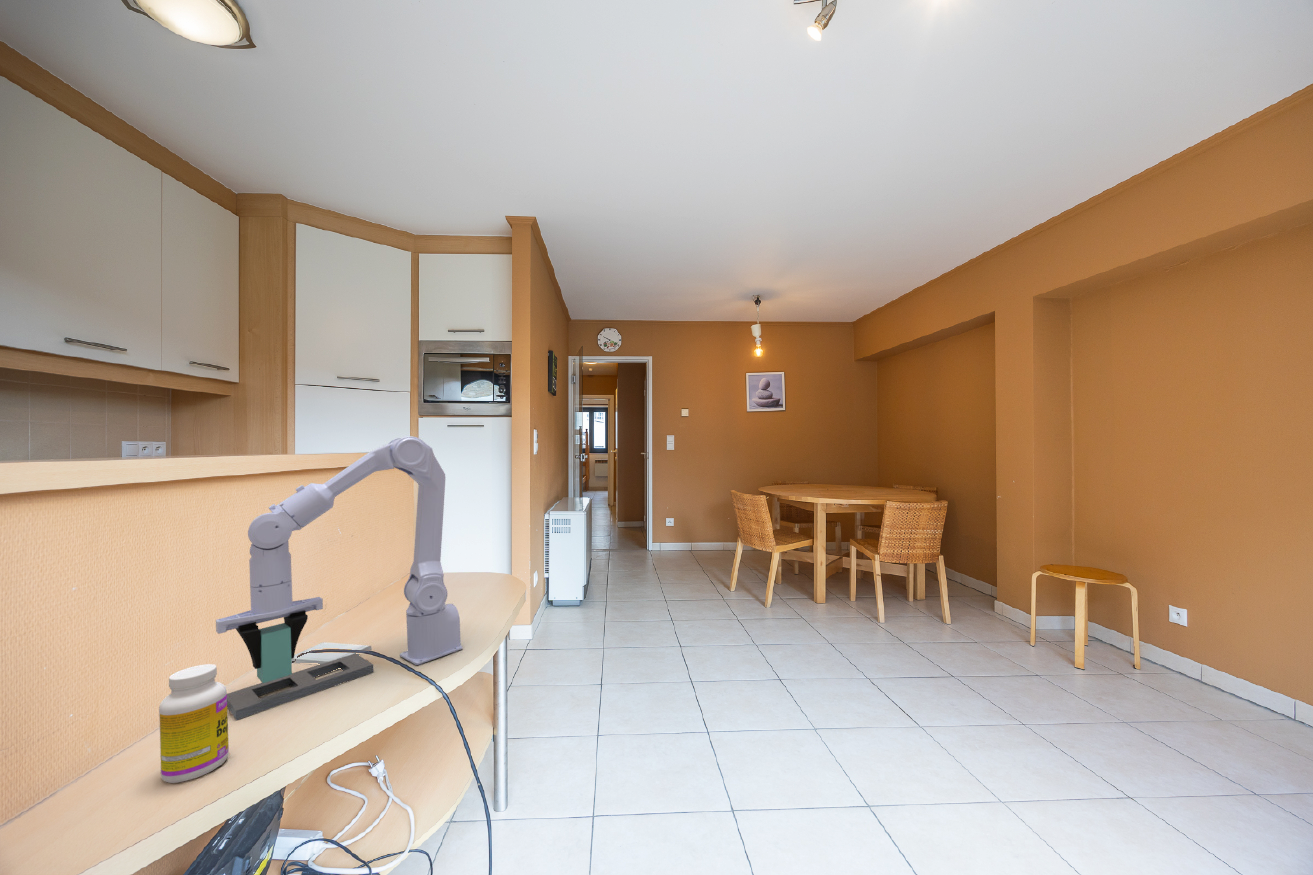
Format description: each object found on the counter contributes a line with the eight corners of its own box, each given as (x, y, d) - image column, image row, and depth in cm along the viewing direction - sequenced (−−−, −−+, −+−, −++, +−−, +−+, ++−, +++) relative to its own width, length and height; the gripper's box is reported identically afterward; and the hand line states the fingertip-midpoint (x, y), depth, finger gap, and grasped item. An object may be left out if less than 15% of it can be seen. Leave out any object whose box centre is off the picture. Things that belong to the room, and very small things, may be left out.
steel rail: (355, 660, 99) (355, 653, 99) (373, 672, 94) (373, 664, 94) (224, 703, 84) (224, 694, 84) (236, 720, 78) (235, 710, 78)
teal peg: (285, 668, 89) (284, 622, 89) (291, 674, 86) (290, 627, 86) (257, 676, 86) (255, 629, 86) (262, 683, 83) (261, 634, 83)
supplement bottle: (226, 770, 66) (222, 672, 66) (155, 793, 62) (152, 688, 62) (231, 747, 71) (228, 656, 71) (167, 766, 67) (164, 670, 67)
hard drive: (288, 657, 100) (337, 660, 97) (324, 641, 108) (371, 643, 105) (288, 665, 100) (337, 669, 97) (325, 648, 108) (371, 651, 105)
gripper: (313, 570, 94) (315, 642, 94) (211, 589, 83) (213, 671, 83) (325, 575, 90) (328, 651, 89) (219, 596, 79) (222, 683, 78)
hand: (273, 662), depth 86 cm, fingers closed on teal peg, 4 cm apart
